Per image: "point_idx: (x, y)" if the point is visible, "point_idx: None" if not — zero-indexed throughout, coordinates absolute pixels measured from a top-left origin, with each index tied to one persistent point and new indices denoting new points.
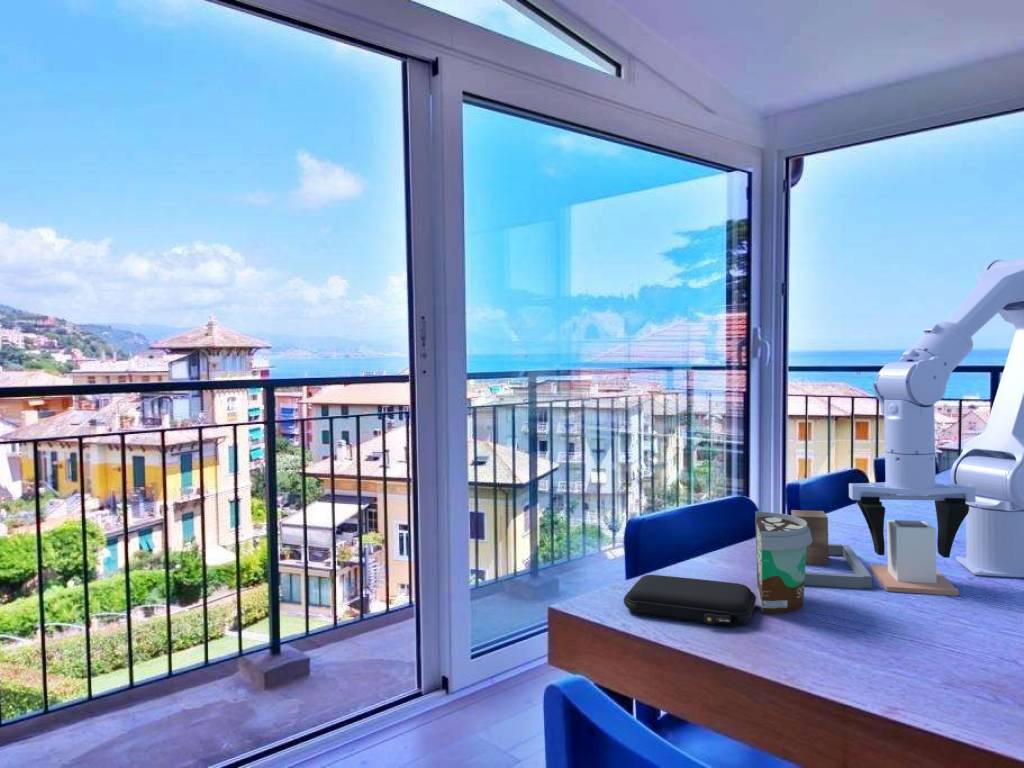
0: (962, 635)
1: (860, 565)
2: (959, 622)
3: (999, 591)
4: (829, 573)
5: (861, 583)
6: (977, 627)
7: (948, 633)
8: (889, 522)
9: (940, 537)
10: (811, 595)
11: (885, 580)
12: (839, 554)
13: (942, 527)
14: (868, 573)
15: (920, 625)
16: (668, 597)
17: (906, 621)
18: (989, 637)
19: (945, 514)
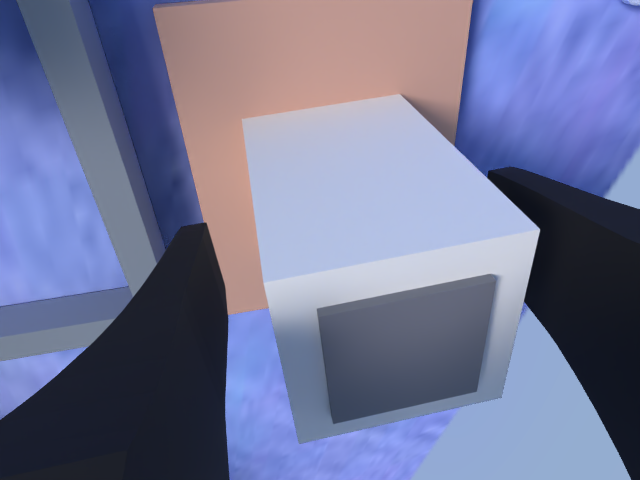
0: (346, 469)
1: (114, 188)
2: None
3: (576, 184)
4: (10, 341)
5: None
6: (387, 432)
7: (325, 471)
8: (275, 331)
9: (540, 238)
10: (3, 407)
11: (225, 252)
12: None
13: (580, 302)
14: None
15: (281, 462)
16: None
17: (257, 456)
18: (389, 460)
19: (636, 419)
